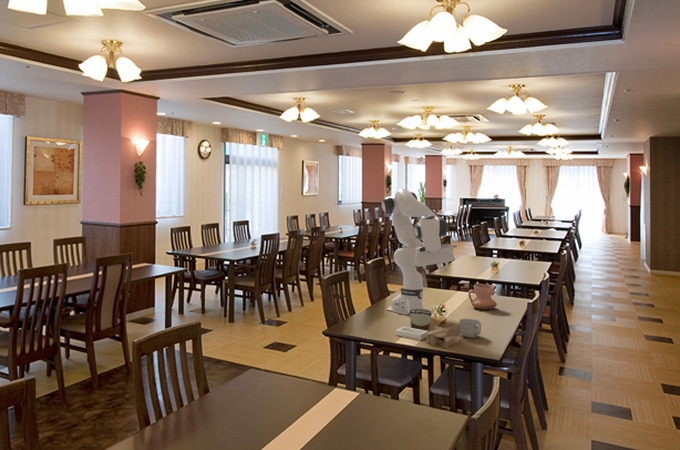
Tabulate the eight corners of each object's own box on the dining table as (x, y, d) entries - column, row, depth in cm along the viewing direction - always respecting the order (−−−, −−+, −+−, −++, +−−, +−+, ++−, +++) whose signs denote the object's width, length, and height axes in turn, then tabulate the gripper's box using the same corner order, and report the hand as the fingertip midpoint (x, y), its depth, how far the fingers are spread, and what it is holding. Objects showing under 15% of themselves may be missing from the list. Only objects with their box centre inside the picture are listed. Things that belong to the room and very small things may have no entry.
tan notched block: (421, 342, 246) (421, 325, 246) (434, 335, 257) (435, 319, 257) (447, 347, 238) (447, 330, 237) (460, 340, 249) (460, 324, 248)
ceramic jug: (500, 307, 317) (500, 285, 316) (494, 312, 305) (495, 288, 304) (471, 304, 326) (471, 282, 326) (465, 309, 314) (465, 286, 313)
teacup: (456, 333, 261) (456, 317, 261) (477, 332, 262) (477, 317, 262) (465, 341, 248) (465, 325, 247) (487, 341, 249) (487, 324, 248)
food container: (433, 328, 271) (434, 309, 270) (431, 331, 265) (432, 312, 264) (410, 326, 275) (410, 307, 274) (408, 329, 269) (408, 310, 268)
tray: (396, 335, 258) (396, 329, 258) (404, 332, 265) (404, 326, 264) (420, 340, 250) (420, 334, 250) (428, 337, 256) (428, 331, 256)
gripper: (451, 242, 268) (455, 268, 269) (412, 248, 269) (416, 274, 270) (453, 243, 262) (457, 270, 263) (414, 250, 263) (418, 276, 263)
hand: (436, 272), depth 266 cm, fingers open, 8 cm apart
